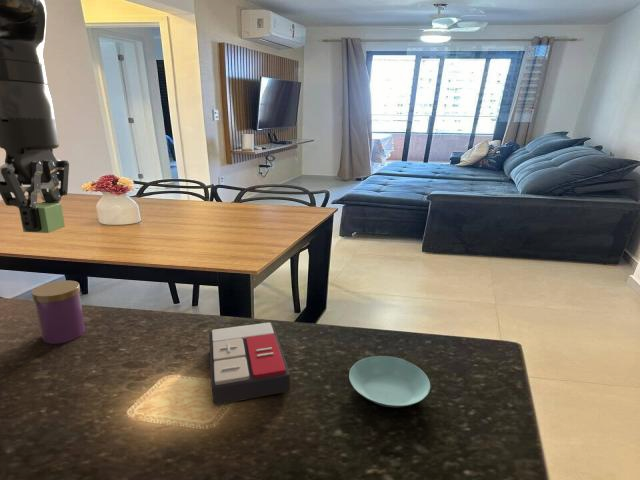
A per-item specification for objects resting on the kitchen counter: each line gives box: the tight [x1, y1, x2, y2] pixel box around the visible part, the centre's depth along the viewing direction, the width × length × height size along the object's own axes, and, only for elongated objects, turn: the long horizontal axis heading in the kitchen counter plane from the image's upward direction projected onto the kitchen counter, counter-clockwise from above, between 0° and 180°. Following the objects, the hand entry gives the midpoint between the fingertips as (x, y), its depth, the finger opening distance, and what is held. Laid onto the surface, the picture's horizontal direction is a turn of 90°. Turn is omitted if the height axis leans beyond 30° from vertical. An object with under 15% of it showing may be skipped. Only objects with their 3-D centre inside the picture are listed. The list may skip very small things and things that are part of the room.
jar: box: [31, 279, 86, 345], centre depth 68 cm, size 7×7×9 cm
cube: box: [18, 201, 66, 234], centre depth 61 cm, size 4×4×4 cm
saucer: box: [348, 355, 431, 408], centre depth 57 cm, size 12×12×2 cm
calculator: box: [208, 322, 291, 406], centre depth 60 cm, size 11×4×15 cm
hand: (43, 226), depth 61 cm, fingers closed on cube, 4 cm apart
